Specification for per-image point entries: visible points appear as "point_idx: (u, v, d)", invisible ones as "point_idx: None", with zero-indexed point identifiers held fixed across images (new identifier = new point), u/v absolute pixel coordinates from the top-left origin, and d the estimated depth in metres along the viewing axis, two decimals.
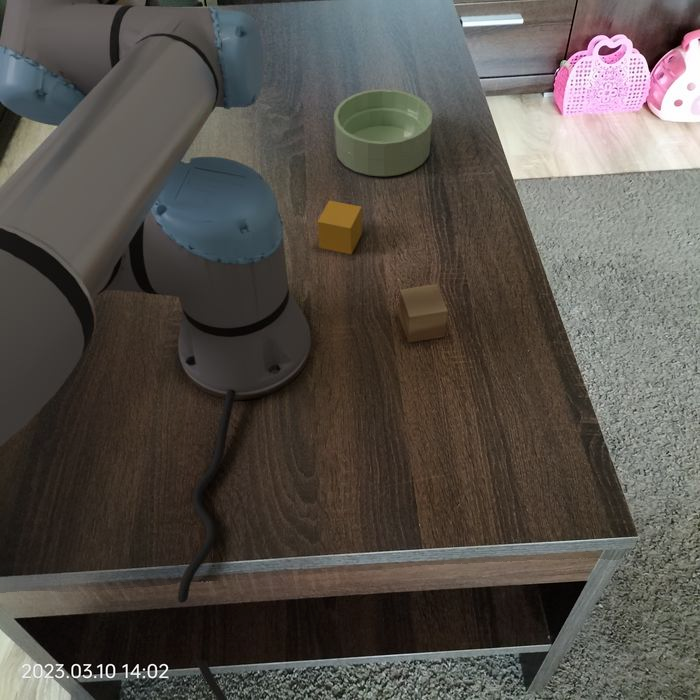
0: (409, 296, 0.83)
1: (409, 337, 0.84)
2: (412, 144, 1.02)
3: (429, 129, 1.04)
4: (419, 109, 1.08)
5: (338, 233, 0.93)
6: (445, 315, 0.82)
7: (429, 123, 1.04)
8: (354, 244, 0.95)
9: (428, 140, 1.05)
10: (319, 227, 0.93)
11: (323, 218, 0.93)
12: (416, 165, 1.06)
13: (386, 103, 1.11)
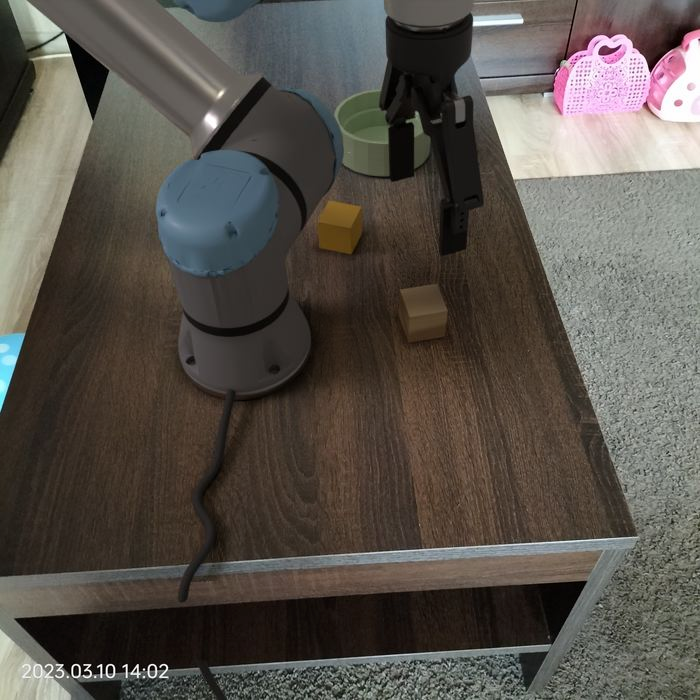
0: (409, 296, 0.83)
1: (409, 337, 0.84)
2: None
3: None
4: None
5: (338, 233, 0.93)
6: (445, 315, 0.82)
7: None
8: (354, 244, 0.95)
9: (428, 140, 1.05)
10: (319, 227, 0.93)
11: (323, 218, 0.93)
12: (416, 165, 1.06)
13: None
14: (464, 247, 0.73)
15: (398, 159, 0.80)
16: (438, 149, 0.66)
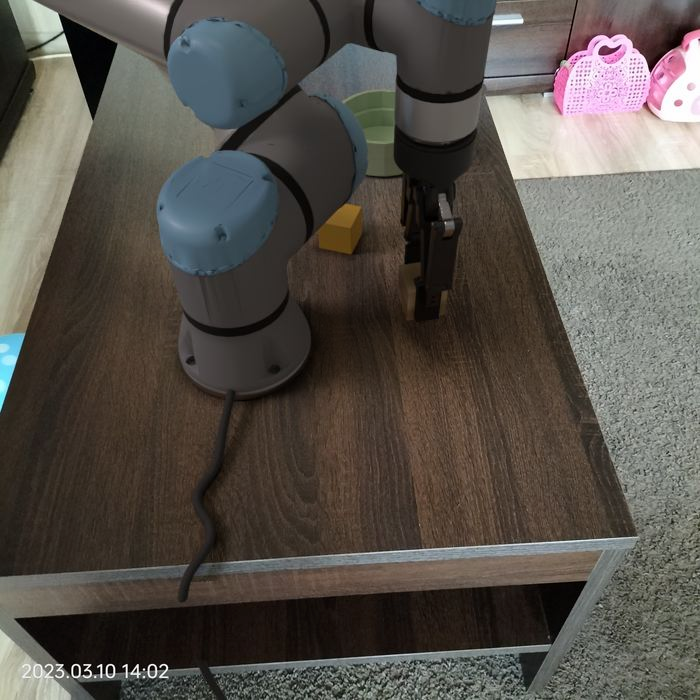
0: (408, 272, 0.81)
1: (408, 314, 0.81)
2: None
3: None
4: None
5: (338, 233, 0.93)
6: (445, 292, 0.80)
7: None
8: (354, 244, 0.95)
9: None
10: None
11: None
12: None
13: (386, 103, 1.11)
14: (436, 317, 0.82)
15: None
16: (424, 242, 0.72)
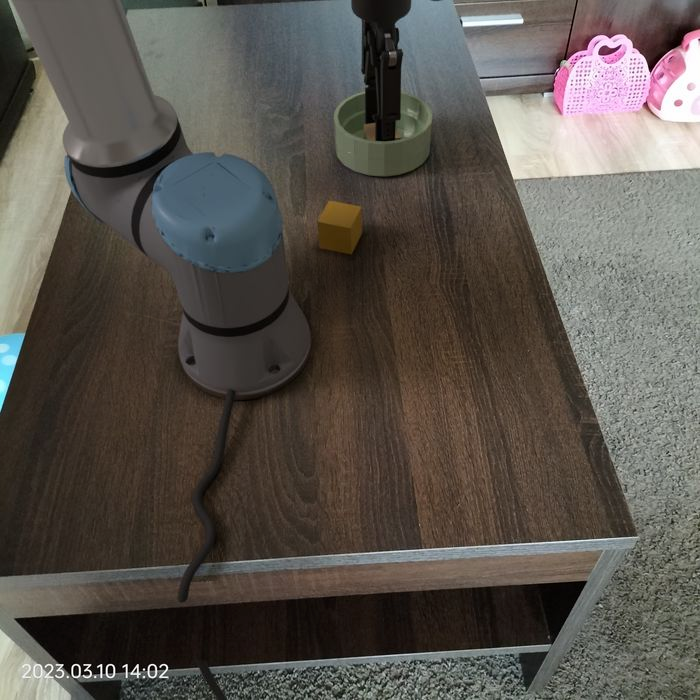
0: (371, 128, 1.05)
1: None
2: (412, 144, 1.02)
3: (429, 129, 1.04)
4: (419, 109, 1.08)
5: (338, 233, 0.93)
6: None
7: (429, 123, 1.04)
8: (354, 244, 0.95)
9: (428, 140, 1.05)
10: (319, 227, 0.93)
11: (323, 218, 0.93)
12: (416, 165, 1.06)
13: None
14: None
15: (371, 112, 1.06)
16: (378, 79, 0.95)
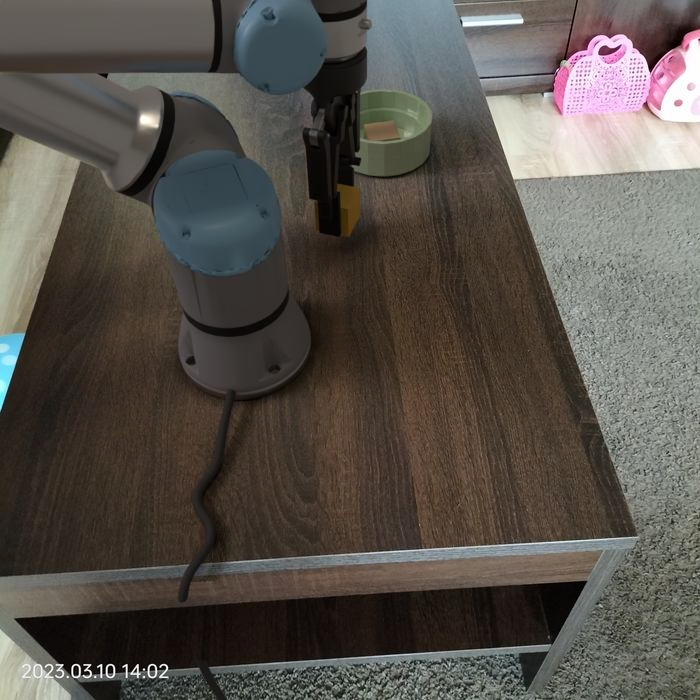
0: (371, 128, 1.05)
1: None
2: (412, 144, 1.02)
3: (429, 129, 1.04)
4: (419, 109, 1.08)
5: None
6: None
7: (429, 123, 1.04)
8: (351, 226, 0.93)
9: (428, 140, 1.05)
10: (316, 208, 0.91)
11: None
12: (416, 165, 1.06)
13: (386, 103, 1.11)
14: (337, 234, 0.92)
15: None
16: None
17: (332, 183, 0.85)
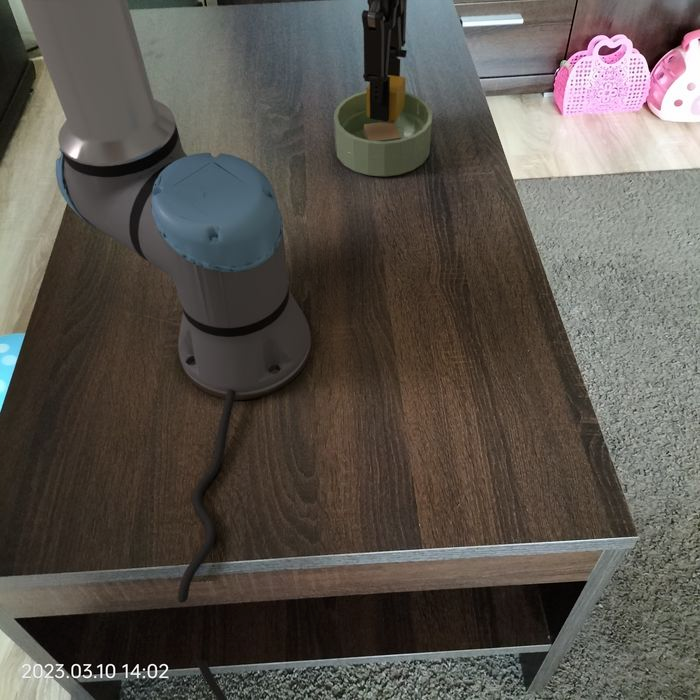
0: (371, 128, 1.05)
1: None
2: (412, 144, 1.02)
3: (429, 129, 1.04)
4: (419, 109, 1.08)
5: None
6: None
7: (429, 123, 1.04)
8: (398, 112, 1.06)
9: (428, 140, 1.05)
10: (368, 94, 1.04)
11: None
12: (416, 165, 1.06)
13: None
14: (386, 119, 1.05)
15: None
16: None
17: (384, 66, 0.98)
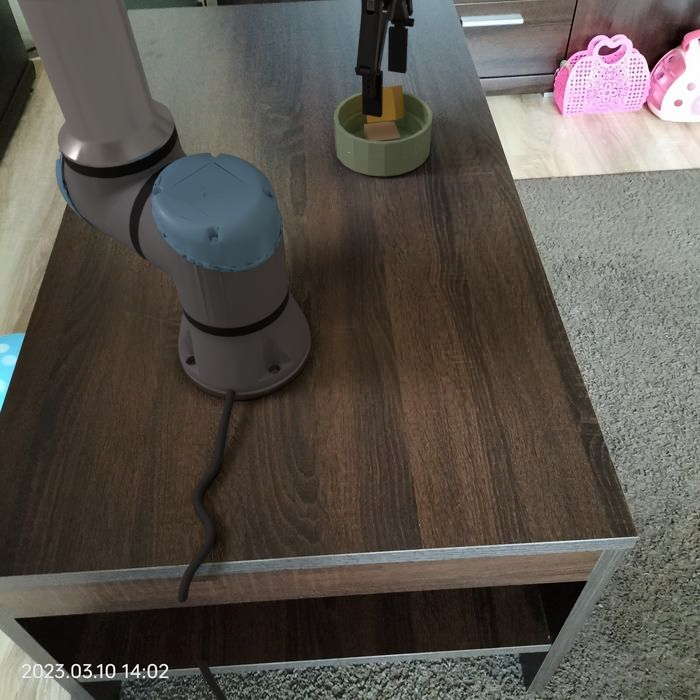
0: (371, 128, 1.05)
1: None
2: (412, 144, 1.02)
3: (429, 129, 1.04)
4: (419, 109, 1.08)
5: None
6: None
7: (429, 123, 1.04)
8: (398, 114, 1.06)
9: (428, 140, 1.05)
10: None
11: None
12: (416, 165, 1.06)
13: None
14: (379, 115, 1.01)
15: (393, 54, 1.07)
16: None
17: (378, 57, 0.94)
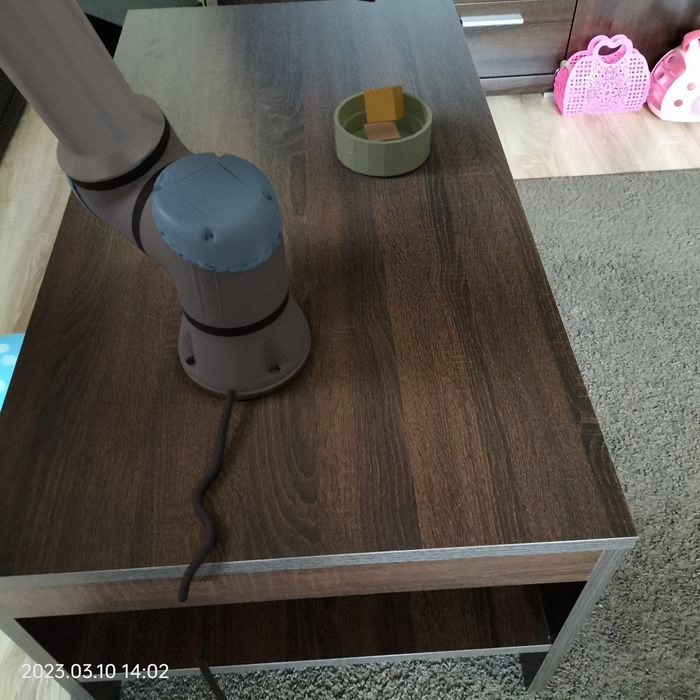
0: (371, 128, 1.05)
1: None
2: (412, 144, 1.02)
3: (429, 129, 1.04)
4: (419, 109, 1.08)
5: (382, 97, 1.05)
6: None
7: (429, 123, 1.04)
8: (398, 114, 1.06)
9: (428, 140, 1.05)
10: (365, 97, 1.06)
11: (368, 90, 1.06)
12: (416, 165, 1.06)
13: None
14: None
15: None
16: None
17: None
